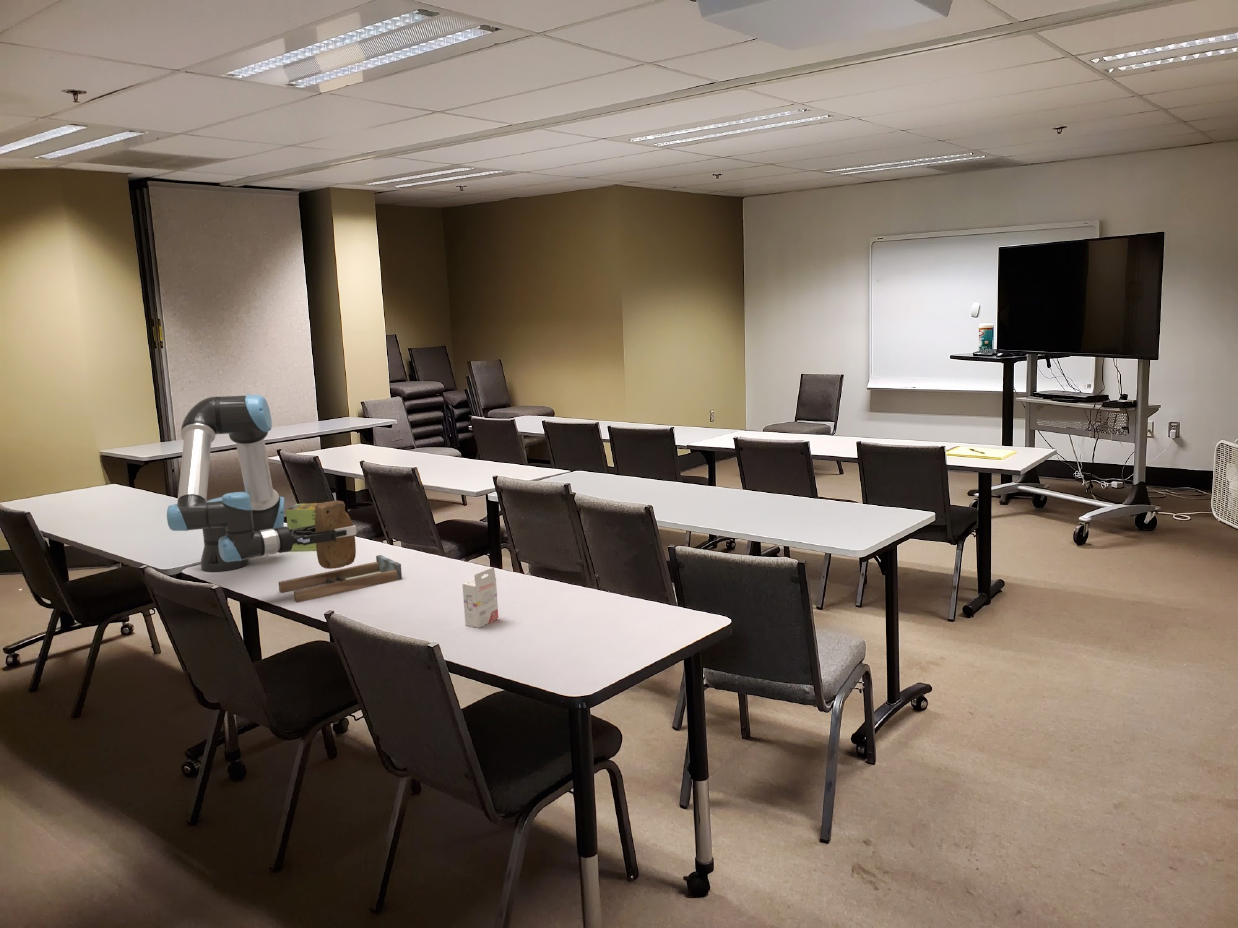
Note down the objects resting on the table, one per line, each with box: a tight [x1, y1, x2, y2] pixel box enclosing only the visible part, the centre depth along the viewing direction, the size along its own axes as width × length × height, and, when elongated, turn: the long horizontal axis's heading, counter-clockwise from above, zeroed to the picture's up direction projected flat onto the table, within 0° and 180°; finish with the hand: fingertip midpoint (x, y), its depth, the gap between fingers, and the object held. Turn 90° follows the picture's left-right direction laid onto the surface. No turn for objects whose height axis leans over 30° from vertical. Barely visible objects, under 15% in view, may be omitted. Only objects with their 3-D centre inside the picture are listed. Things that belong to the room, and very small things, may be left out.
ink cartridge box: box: [462, 567, 499, 629], centre depth 248 cm, size 9×5×15 cm, turn 148°
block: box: [315, 500, 357, 570], centre depth 282 cm, size 11×8×20 cm
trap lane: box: [278, 554, 403, 603], centre depth 287 cm, size 15×34×5 cm, turn 129°
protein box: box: [285, 502, 321, 552], centre depth 334 cm, size 10×15×16 cm
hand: (350, 527), depth 285 cm, fingers closed on block, 7 cm apart
